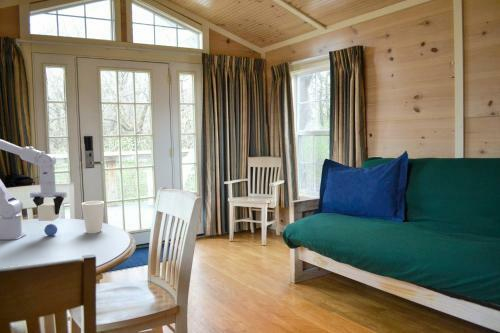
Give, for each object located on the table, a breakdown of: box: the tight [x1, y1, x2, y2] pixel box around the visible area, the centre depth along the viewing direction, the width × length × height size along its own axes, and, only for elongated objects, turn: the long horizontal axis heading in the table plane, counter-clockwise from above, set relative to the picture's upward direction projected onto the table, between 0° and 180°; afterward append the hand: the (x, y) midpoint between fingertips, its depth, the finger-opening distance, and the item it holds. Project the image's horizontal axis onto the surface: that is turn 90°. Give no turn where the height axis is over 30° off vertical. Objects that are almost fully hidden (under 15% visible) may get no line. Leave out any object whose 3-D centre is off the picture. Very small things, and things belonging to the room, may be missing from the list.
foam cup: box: [80, 200, 105, 234], centre depth 184 cm, size 10×9×13 cm
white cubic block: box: [37, 202, 60, 222], centre depth 176 cm, size 6×6×6 cm
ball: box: [43, 223, 58, 237], centre depth 177 cm, size 5×5×5 cm
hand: (49, 214), depth 176 cm, fingers closed on white cubic block, 6 cm apart
